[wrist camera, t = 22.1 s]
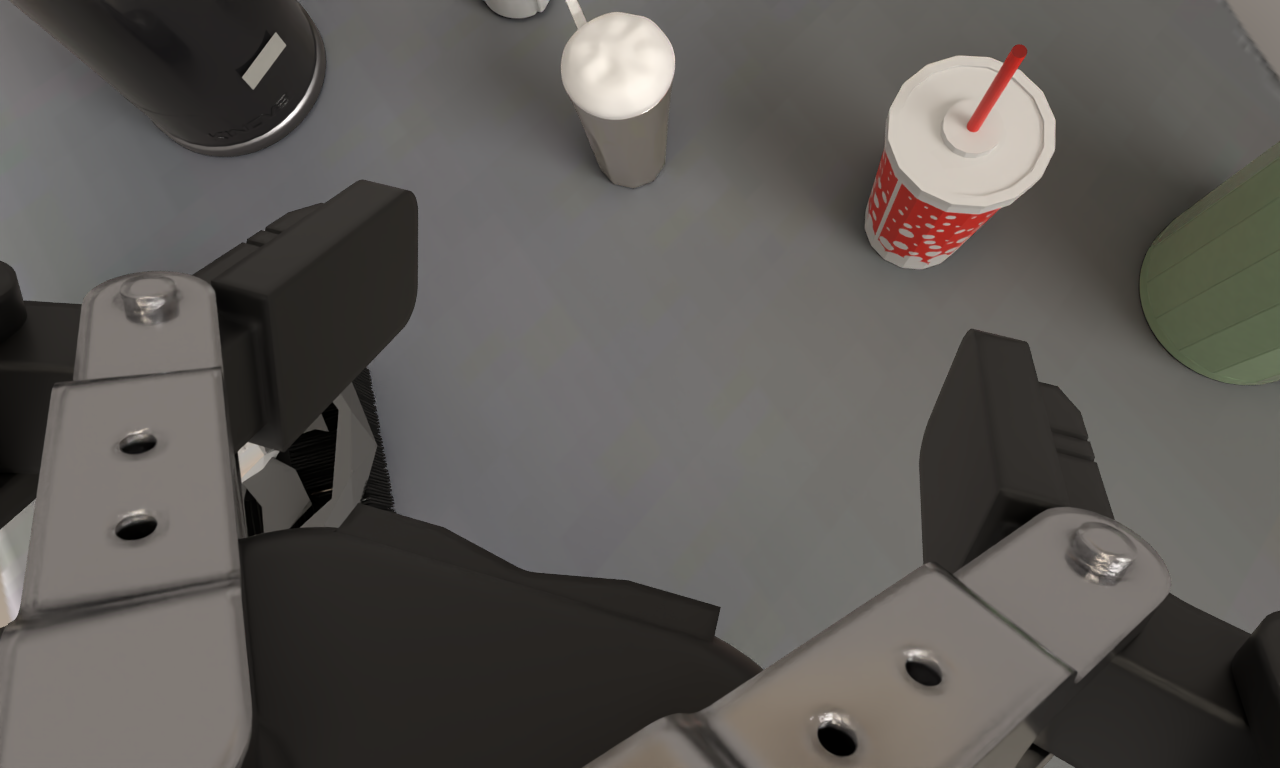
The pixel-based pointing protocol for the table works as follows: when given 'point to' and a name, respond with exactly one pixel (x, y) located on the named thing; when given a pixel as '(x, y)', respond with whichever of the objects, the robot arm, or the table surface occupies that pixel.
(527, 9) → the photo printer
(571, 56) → the milkshake
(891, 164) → the beverage cup
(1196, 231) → the pen pot
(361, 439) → the cpu cooler
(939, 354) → the table surface
